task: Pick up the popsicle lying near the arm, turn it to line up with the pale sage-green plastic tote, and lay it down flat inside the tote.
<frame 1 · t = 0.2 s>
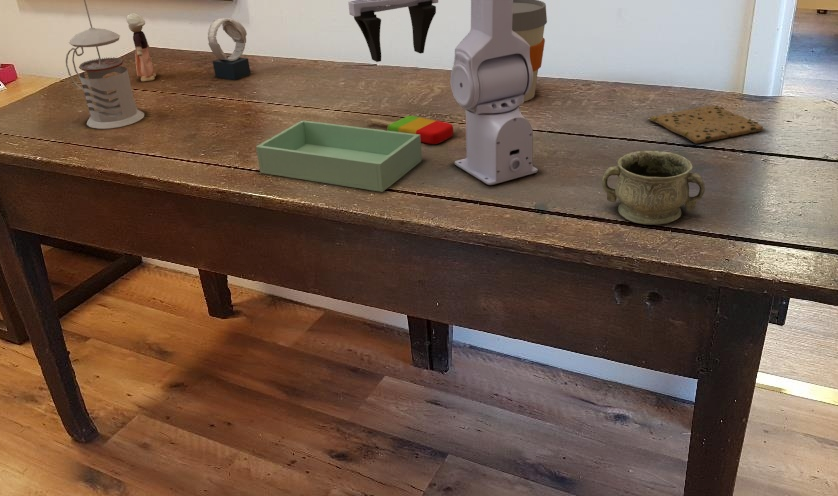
hand: (398, 56, 128), 10 cm above the table, tool pointing down, fingers open, 7 cm apart
watch: (233, 76, 160), on the table
grandmother figurine: (148, 79, 161), on the table
popsicle: (407, 133, 126), on the table
tote: (341, 166, 115), on the table
reusable coffee cup: (508, 96, 140), on the table
vessel: (649, 212, 98), on the table
cookie: (704, 126, 122), on the table
french press: (111, 119, 140), on the table
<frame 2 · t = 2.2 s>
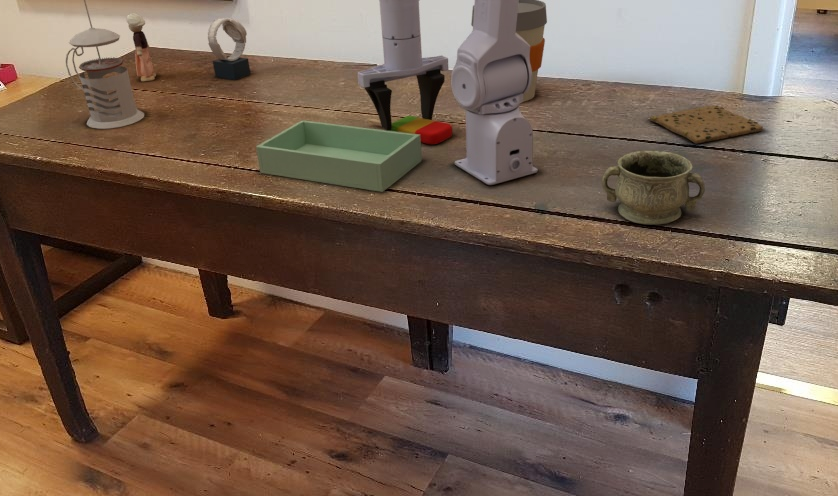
hand: (407, 123, 125), 1 cm above the table, tool pointing down, fingers closed on popsicle, 6 cm apart
popsicle: (406, 133, 126), on the table, touching gripper
everything else where it was.
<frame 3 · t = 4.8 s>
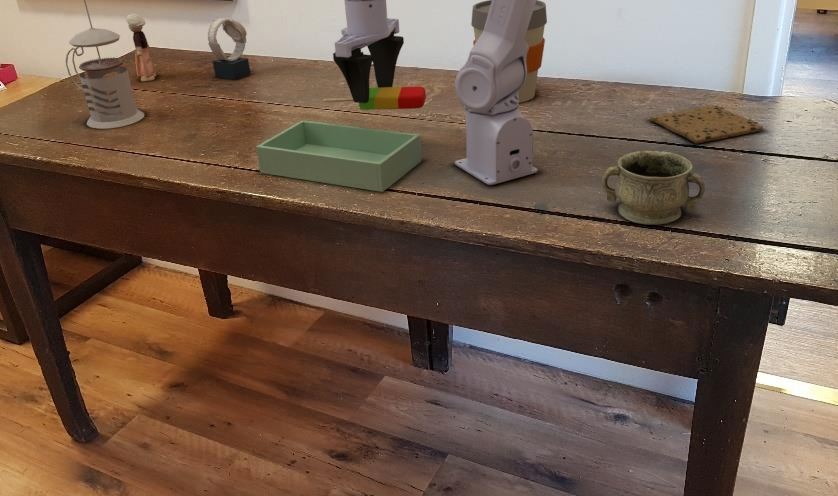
hand: (373, 94, 117), 8 cm above the table, tool pointing down, fingers closed on popsicle, 6 cm apart
popsicle: (374, 106, 117), point 7 cm above the table, touching gripper
everything else where it was.
when the fingers open (2 cm above the table, at t = 7.9 s): popsicle stays where it is, resting on tote.
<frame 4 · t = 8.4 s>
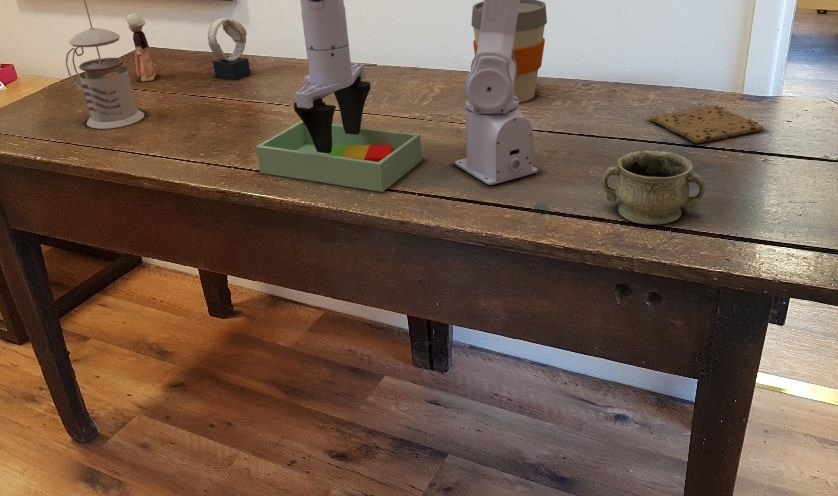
hand: (338, 142, 113), 4 cm above the table, tool pointing down, fingers open, 7 cm apart
popsicle: (341, 165, 115), resting on tote
everything else where it was.
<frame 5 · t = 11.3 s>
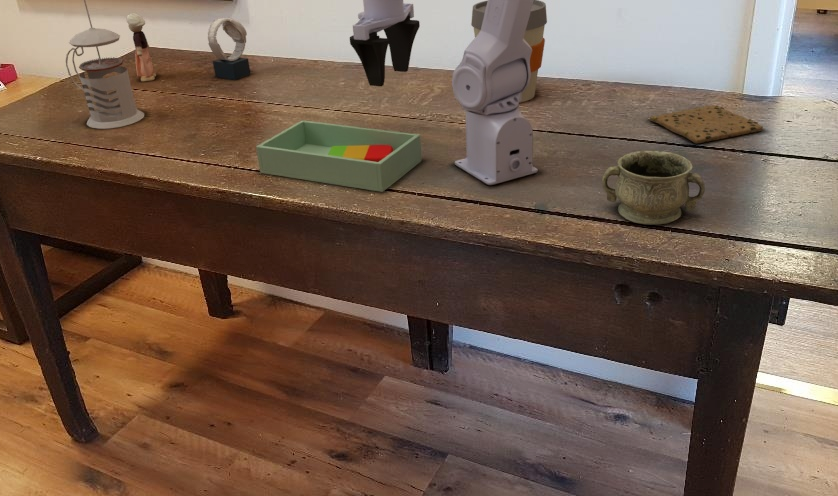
hand: (389, 78, 119), 9 cm above the table, tool pointing down, fingers open, 7 cm apart
nothing on the table moved.
at the end: popsicle 0.1 cm from the tote (horizontally); popsicle inside the target area in the tote (0.1 cm from its centre), point 0.3 cm above the tote's base; the gripper is holding nothing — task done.
